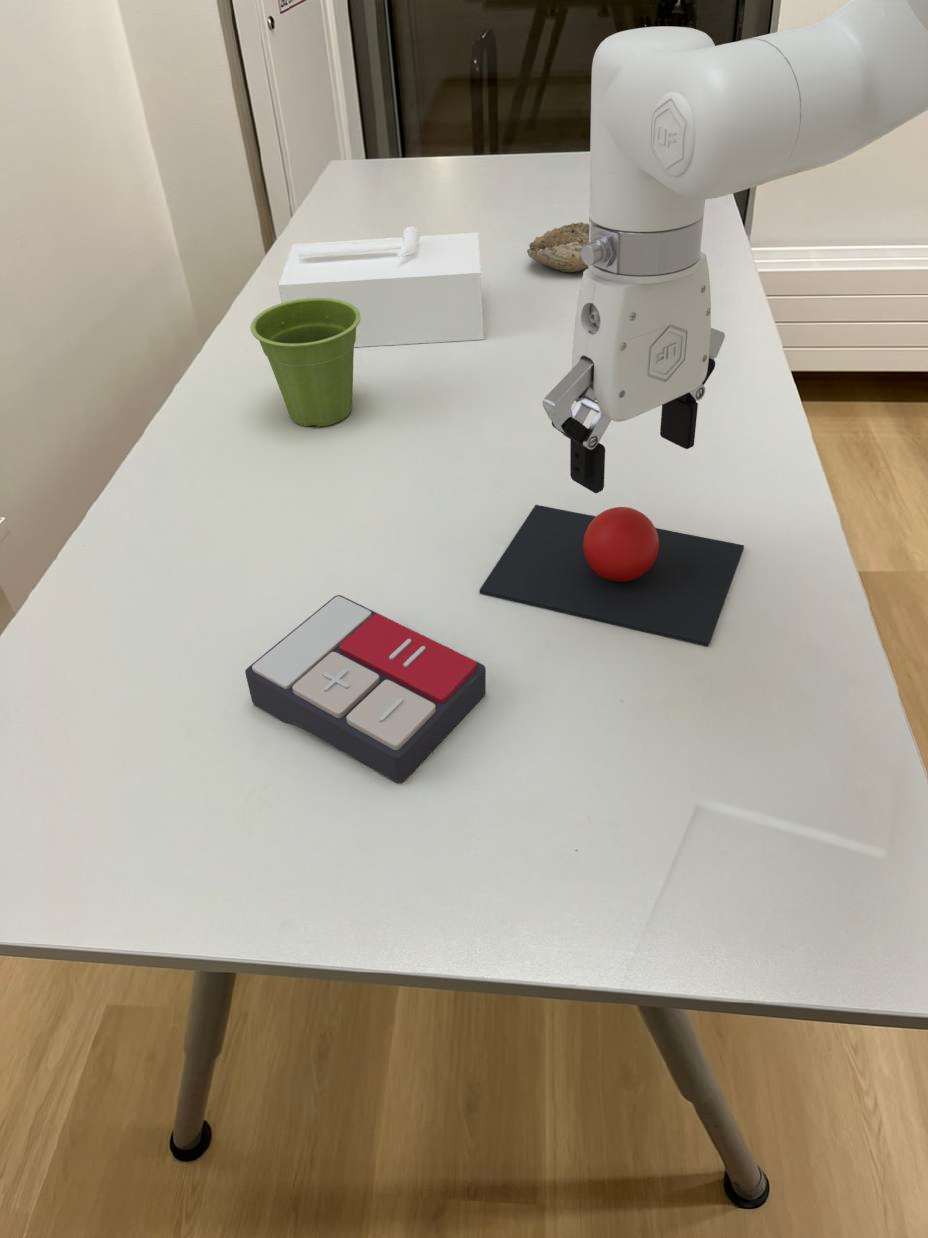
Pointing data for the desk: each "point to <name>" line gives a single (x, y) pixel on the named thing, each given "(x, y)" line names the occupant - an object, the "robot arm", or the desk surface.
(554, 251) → the tan rough lump
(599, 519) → the red ball
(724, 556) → the side mat
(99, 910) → the desk surface
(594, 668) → the desk surface
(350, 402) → the plant pot
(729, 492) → the desk surface
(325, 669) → the calculator
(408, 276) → the tissue box
